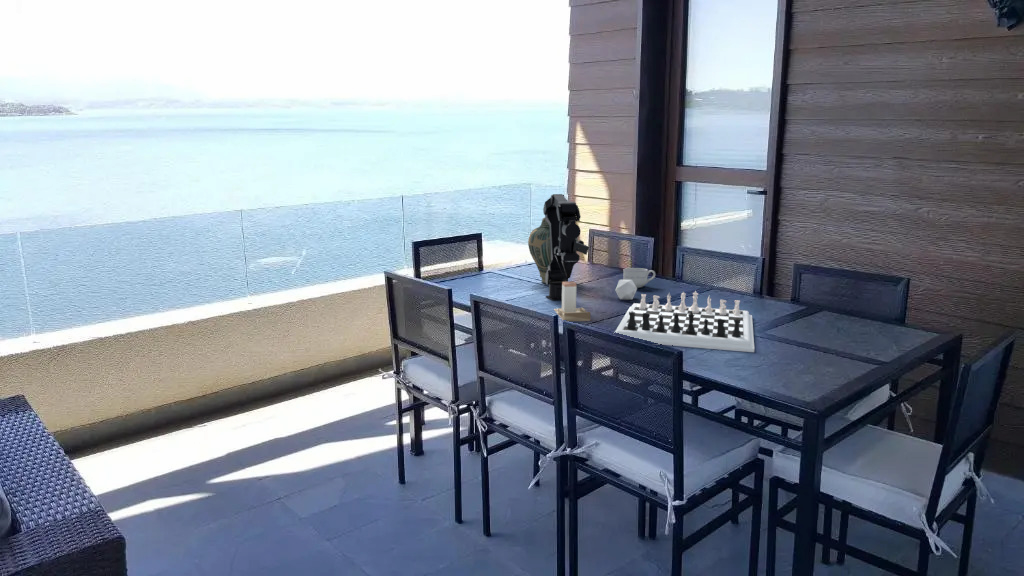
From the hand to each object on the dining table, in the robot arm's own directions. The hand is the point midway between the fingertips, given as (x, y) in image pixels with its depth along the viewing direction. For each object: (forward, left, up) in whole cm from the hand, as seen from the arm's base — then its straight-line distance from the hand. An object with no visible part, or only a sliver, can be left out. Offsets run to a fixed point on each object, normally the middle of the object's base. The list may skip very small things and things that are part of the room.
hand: (565, 275), depth 289 cm
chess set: (+43, +24, -14) cm, 51 cm away
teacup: (-22, +49, -13) cm, 56 cm away
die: (-5, +31, -13) cm, 34 cm away
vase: (-46, +19, -13) cm, 52 cm away
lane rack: (+11, -3, -13) cm, 17 cm away
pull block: (+6, -2, -12) cm, 14 cm away
